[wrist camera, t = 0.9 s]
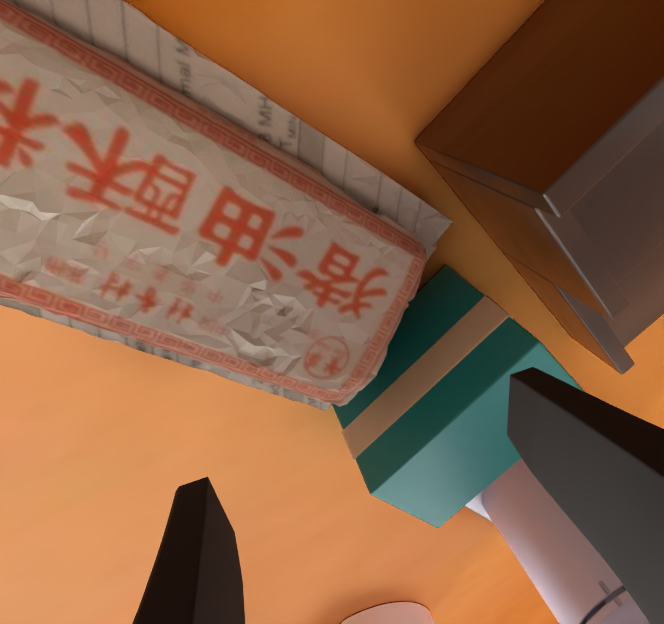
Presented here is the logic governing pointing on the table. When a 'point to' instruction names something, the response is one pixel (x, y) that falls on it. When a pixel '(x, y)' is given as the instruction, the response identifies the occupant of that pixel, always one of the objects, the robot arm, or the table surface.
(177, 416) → the table surface
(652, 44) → the step shelf
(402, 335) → the block
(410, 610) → the bracket
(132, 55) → the packaged product
